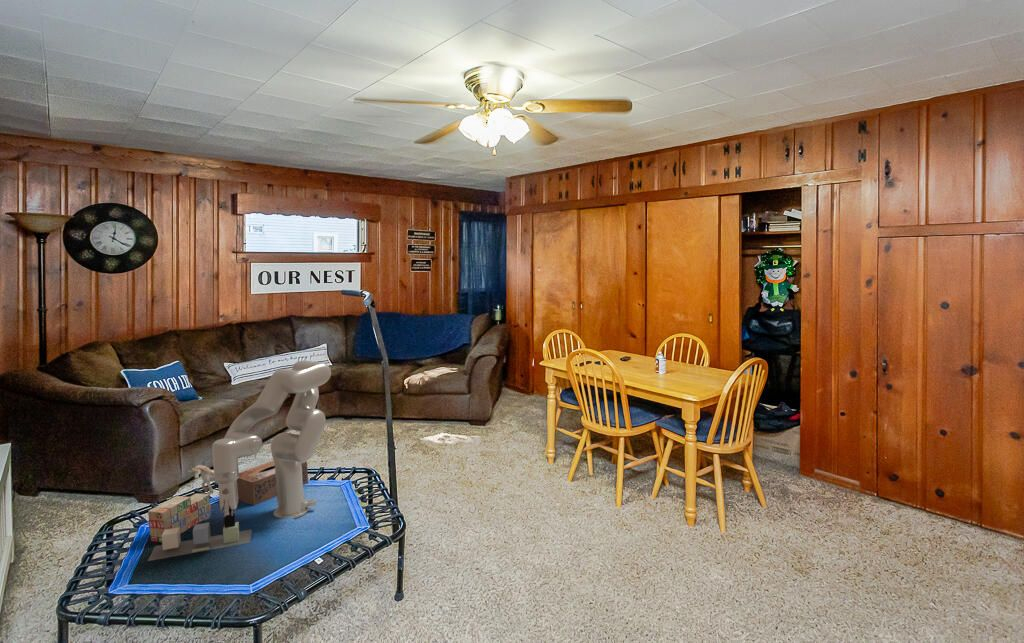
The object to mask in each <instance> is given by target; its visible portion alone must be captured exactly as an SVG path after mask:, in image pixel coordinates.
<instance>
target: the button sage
mask: <svg viewBox="0 0 1024 643" xmlns="http://www.w3.org/2000/svg"><path fill="white" fill-rule="evenodd" d="M239 532H240V523H239V521H235V526H232V527H227V528H225V526H224V525H223V528H222V535H223V536H224V543H229V542H235V541H238V540H239V535H240V534H239Z"/></svg>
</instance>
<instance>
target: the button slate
mask: <svg viewBox="0 0 1024 643" xmlns="http://www.w3.org/2000/svg"><path fill="white" fill-rule="evenodd" d="M210 525H211V524H210V522H203V523H197V524H195V525H193V528H192V540H193V541H194V545H195V544H200V543H206V542H209V539H210V537H211V526H210Z"/></svg>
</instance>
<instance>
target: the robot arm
mask: <svg viewBox="0 0 1024 643" xmlns="http://www.w3.org/2000/svg"><path fill="white" fill-rule="evenodd" d="M291 368H292V369H287V368H279V369H277V370H275V371H274V372H273V373H272V374H271V376H270V378H269V380H268V381H267V382H266V384H265V386H264V388H263V389H262V391H261V393H260V394H259V396H258V398H257V399H256V401H255V402H253V404H251V406H249V407H248V408H246V409H244V411H242V412H241V413H240V414H239V415H238V416H237V417H236V418H235V419H234V420H233V421H232V423H231V425H230V426H229V428H228V429H227V432H226V433H225V435H224V438H221V439H217V440H215V441H213V443H212V446H211V448H212V449H211V450H212V464H213V465H212V466H213V470H214V481H213V482H215V483H216V484H218V501H219V510H220V512H223V527H224V526H225V528H227V527H232V526H235V522H236V514H235V510H236V509H237V508H238V504H239V501H240V500H239V497H238V487H237V479H238V478H239V471H240V470H239V459H240V458H245V457H250V456H254V455H256V454H257V453H259V452H260V451H261V449H262V448H263V440H262V439H261V436H258V435H257V434H254V433H249V431H250V430H251V428H252V427H253V426H254V425H255V424H257V423H258V422H260V421H263V420H265V419H267V418H270V417H272V416H274V415H276V414H278V412H279V411H280V409H281V407H282V406H283V403H284V402H285V400H286V399H287V397H288V395H289V394H295V397H294V399H293V402H292V403H291V406H290V409H289V411H288V412H287V416H286V419H285V424H286V427H287V428H288V429H290V430H292V431H295V432H299V434H296V433H293V432H292V433H291V432H281V433H278V434H277V435H275V436H274V437H273V439H272V440H271V443H270V452H271V456H272V459H273V460H274V465H275V476H276V492H277V496H276V504H277V506H276V507H277V508H276V509H275V510H273V516H274V517H276V518H281V519H288V518H293V519H297V518H300V517H303V516H304V515H306V514H307V513H308V511H309V507H315V506H317V500H316V499H315V500H313V498H309V499H305V496H304V485H303V480H302V466H301V462H308V461H309V460H311V459H312V457H313V456H314V454H315V452H316V450H317V447H318V445H319V442H320V440H321V438H322V435H323V432H324V430H325V427H326V421H327V419H326V416H325V413H324V412H323V411H322V410H320V409H318V408H316V406H317V405H318V401H319V397H320V394H319V393H320V392H319V387H320V386H323V385H324V384H326V383H328V381H329V380H330V379H331V376H332V371H331V370H332V369H331V367H330V366H329V365H328V364H327V363H324V362H319V361H312V360H298V361H296V362H295V363H294V364H293V366H292V367H291ZM273 460H272V461H273Z"/></svg>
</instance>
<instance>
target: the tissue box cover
mask: <svg viewBox="0 0 1024 643" xmlns="http://www.w3.org/2000/svg"><path fill="white" fill-rule="evenodd" d="M301 466H302V480H303V486H305V485H307V484H309V475H308V474H309V473H308V461H306V462H301ZM237 487H238V497H239V500H238V501H241V502H243V503H245V504H248V505H251V506H253V505H254V506H257V505H259V504H262V503H265V502H267V501H269V500H271V499H274V498H277V492H276V476H275V465H274V460H270V461H268V462H265V463H261V464H260V465H256V466H254V467H251V468H249V469H245V470H243V471H240V472H239V478H238V479H237ZM254 506H253V507H254Z"/></svg>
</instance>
